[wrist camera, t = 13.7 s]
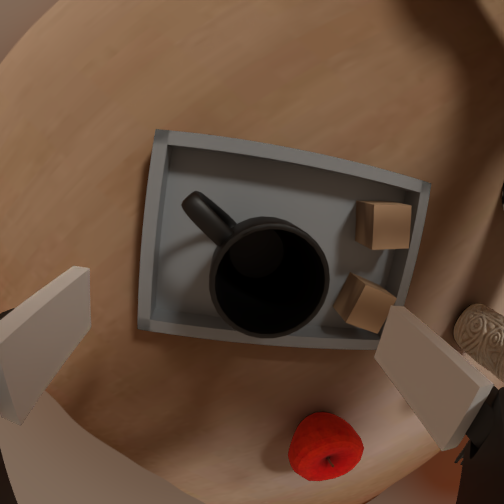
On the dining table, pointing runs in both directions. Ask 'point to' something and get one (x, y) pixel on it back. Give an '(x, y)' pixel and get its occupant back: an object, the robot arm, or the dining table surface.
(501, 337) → the carving
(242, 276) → the mug
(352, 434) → the apple
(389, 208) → the walnut block
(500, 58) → the dining table surface
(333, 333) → the tray
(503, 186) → the spotted tube
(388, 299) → the walnut block
